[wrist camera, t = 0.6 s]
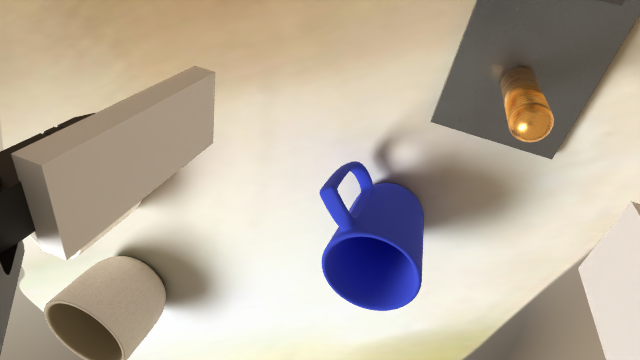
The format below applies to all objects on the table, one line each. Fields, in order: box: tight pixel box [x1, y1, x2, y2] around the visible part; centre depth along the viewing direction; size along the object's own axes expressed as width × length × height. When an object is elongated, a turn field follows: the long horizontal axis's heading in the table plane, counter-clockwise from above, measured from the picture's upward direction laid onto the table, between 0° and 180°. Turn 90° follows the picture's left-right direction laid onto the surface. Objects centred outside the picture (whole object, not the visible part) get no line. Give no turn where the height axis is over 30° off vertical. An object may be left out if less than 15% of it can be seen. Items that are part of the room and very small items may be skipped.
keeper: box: [431, 0, 640, 159], centre depth 25 cm, size 16×10×10 cm, turn 168°
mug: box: [320, 161, 424, 311], centre depth 36 cm, size 8×12×10 cm
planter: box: [44, 256, 166, 360], centre depth 57 cm, size 12×12×11 cm
